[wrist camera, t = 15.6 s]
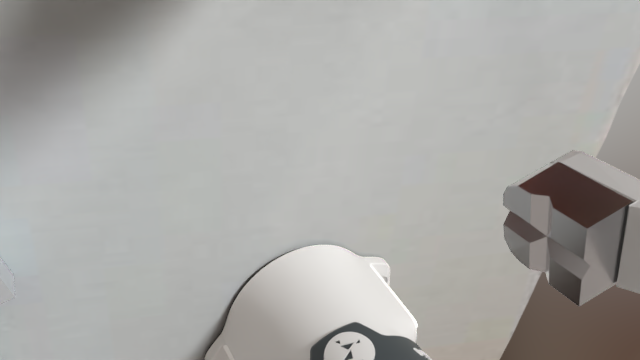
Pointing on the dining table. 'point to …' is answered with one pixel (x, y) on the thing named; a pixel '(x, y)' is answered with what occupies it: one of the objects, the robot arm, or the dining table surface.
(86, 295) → the dining table surface
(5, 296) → the dock
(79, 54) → the dining table surface
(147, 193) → the dining table surface
